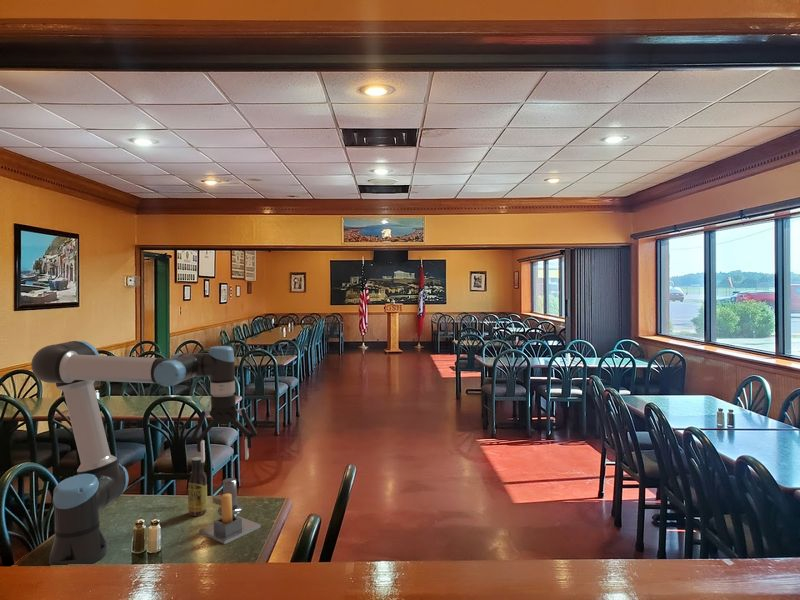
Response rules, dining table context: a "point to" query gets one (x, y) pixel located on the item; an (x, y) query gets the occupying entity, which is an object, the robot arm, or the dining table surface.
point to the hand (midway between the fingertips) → (225, 459)
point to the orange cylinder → (226, 508)
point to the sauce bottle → (197, 489)
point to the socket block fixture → (239, 524)
